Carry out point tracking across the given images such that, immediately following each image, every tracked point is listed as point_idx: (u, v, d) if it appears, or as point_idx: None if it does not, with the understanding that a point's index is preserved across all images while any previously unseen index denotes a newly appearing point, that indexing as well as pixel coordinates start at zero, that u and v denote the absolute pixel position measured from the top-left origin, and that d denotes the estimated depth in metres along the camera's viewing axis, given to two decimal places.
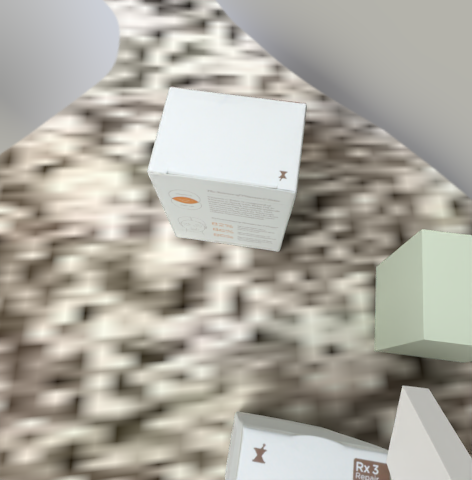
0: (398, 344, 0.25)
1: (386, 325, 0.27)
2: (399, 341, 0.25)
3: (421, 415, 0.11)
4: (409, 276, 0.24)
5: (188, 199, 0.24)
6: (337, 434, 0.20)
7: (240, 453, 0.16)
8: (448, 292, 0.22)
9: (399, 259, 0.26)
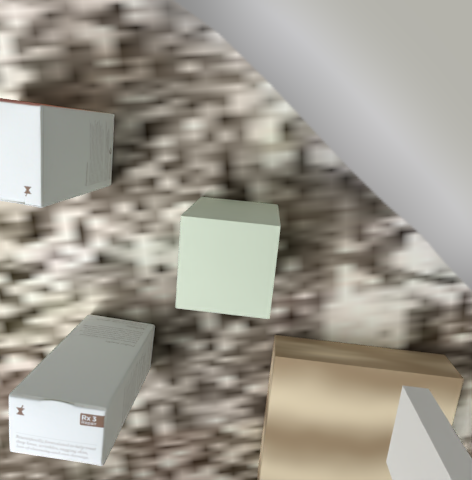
0: None
1: None
2: None
3: (421, 414, 0.11)
4: None
5: None
6: (113, 367, 0.29)
7: (9, 409, 0.25)
8: (198, 271, 0.26)
9: None
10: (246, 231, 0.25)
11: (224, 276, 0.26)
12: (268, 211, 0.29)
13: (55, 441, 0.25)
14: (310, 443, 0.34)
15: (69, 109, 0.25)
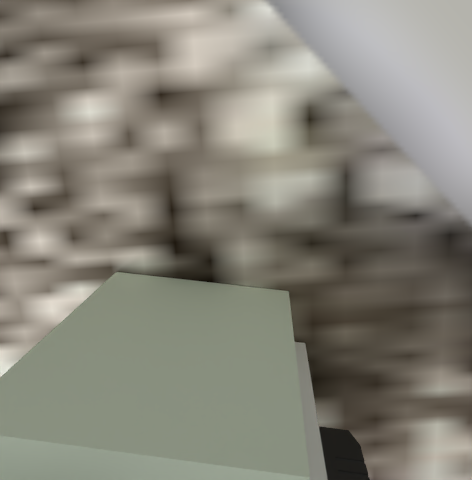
0: None
1: None
2: None
3: None
4: None
5: None
6: None
7: None
8: None
9: None
10: None
11: None
12: (266, 337, 0.11)
13: None
14: None
15: None
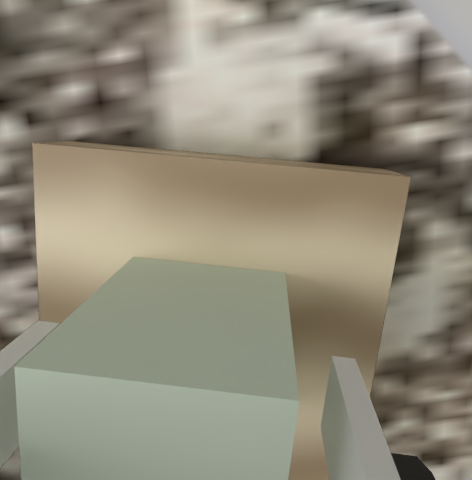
0: None
1: None
2: None
3: (341, 378, 0.12)
4: None
5: None
6: None
7: None
8: None
9: None
10: (202, 412, 0.09)
11: None
12: (265, 307, 0.13)
13: None
14: None
15: None
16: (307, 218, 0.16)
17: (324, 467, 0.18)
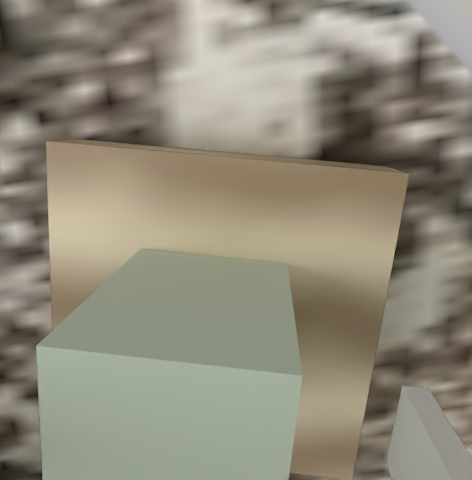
0: None
1: None
2: None
3: (421, 415, 0.11)
4: None
5: None
6: None
7: None
8: (94, 476, 0.10)
9: None
10: (212, 387, 0.09)
11: None
12: (269, 294, 0.14)
13: None
14: None
15: None
16: (310, 213, 0.16)
17: (325, 454, 0.19)
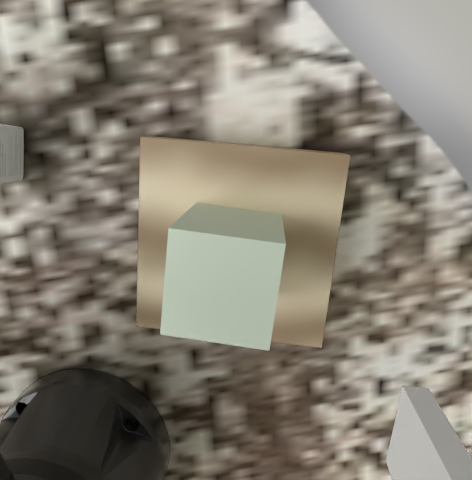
0: None
1: None
2: None
3: (421, 414, 0.11)
4: None
5: None
6: None
7: None
8: (188, 293, 0.22)
9: None
10: (245, 249, 0.21)
11: (217, 299, 0.22)
12: (271, 223, 0.25)
13: None
14: None
15: None
16: (294, 178, 0.28)
17: (305, 330, 0.31)
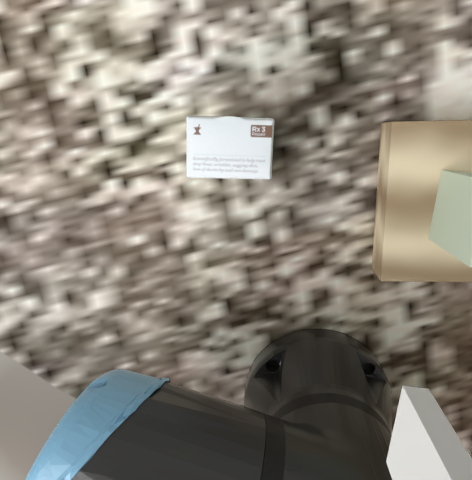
0: (449, 252, 0.33)
1: (442, 229, 0.34)
2: (450, 251, 0.33)
3: (421, 414, 0.11)
4: (469, 210, 0.30)
5: None
6: None
7: None
8: None
9: (464, 186, 0.31)
10: None
11: None
12: None
13: (228, 157, 0.28)
14: (429, 207, 0.36)
15: None
16: None
17: None
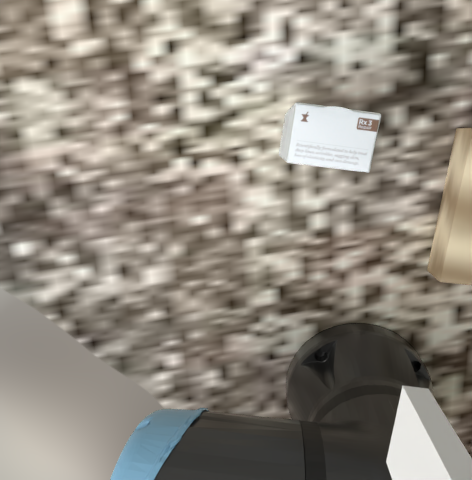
0: None
1: None
2: None
3: (421, 414, 0.11)
4: None
5: None
6: None
7: (294, 117, 0.29)
8: None
9: None
10: None
11: None
12: None
13: (332, 147, 0.29)
14: None
15: None
16: None
17: None
